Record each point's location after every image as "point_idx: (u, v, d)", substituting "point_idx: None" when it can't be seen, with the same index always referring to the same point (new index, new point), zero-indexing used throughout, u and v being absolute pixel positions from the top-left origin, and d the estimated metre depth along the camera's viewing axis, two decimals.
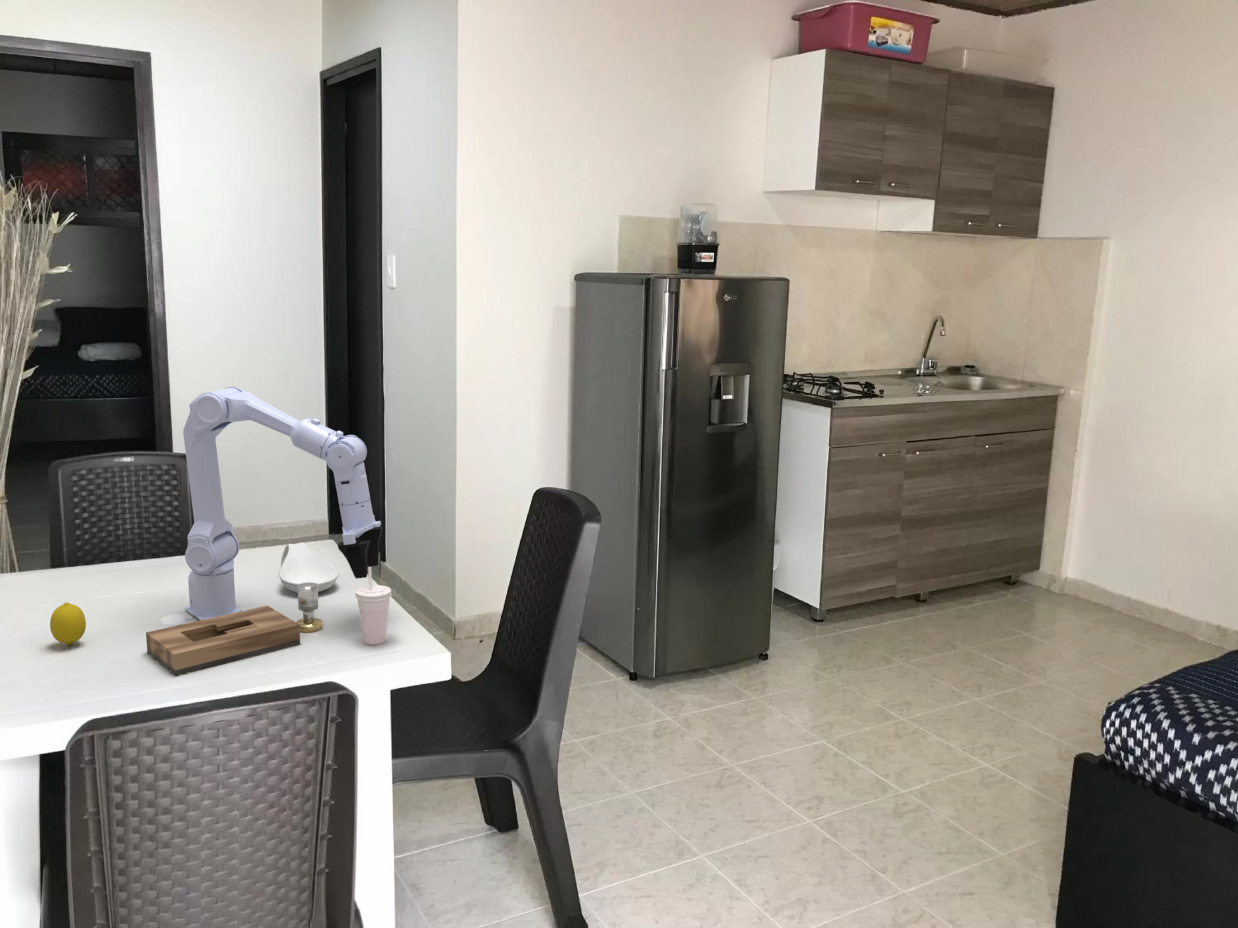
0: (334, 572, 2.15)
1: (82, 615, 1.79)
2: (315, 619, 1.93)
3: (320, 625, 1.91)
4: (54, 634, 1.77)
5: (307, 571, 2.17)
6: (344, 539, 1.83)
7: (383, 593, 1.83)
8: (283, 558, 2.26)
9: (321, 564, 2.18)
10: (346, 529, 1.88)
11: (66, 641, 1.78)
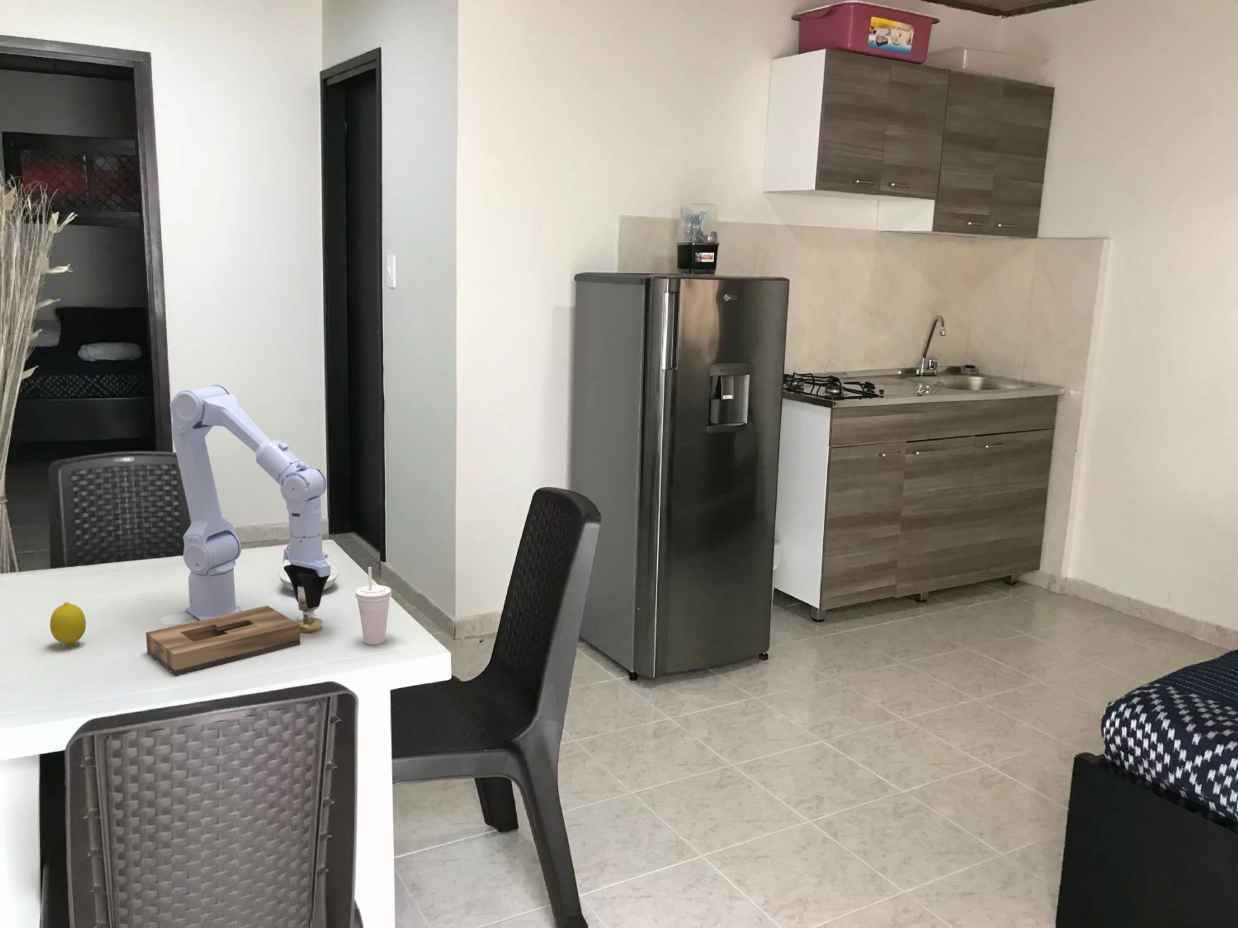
0: (334, 572, 2.15)
1: (82, 615, 1.79)
2: (315, 619, 1.93)
3: (320, 625, 1.91)
4: (54, 634, 1.77)
5: None
6: (322, 571, 1.83)
7: (383, 593, 1.83)
8: None
9: None
10: (304, 562, 1.86)
11: (66, 641, 1.78)
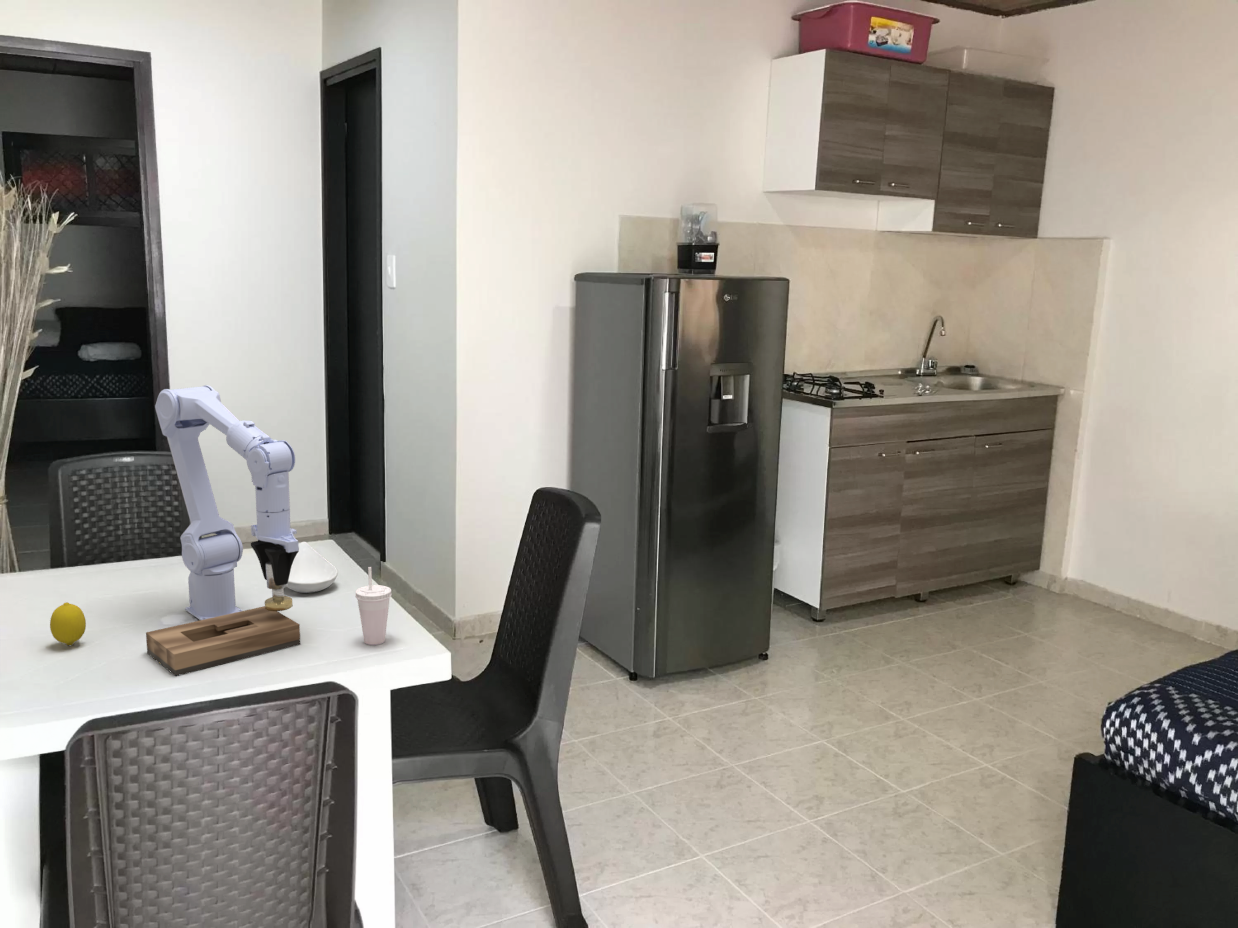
0: (334, 571, 2.15)
1: (82, 615, 1.79)
2: (285, 597, 1.88)
3: (290, 603, 1.86)
4: (54, 634, 1.77)
5: (308, 570, 2.18)
6: (289, 547, 1.78)
7: (383, 593, 1.83)
8: None
9: (322, 563, 2.18)
10: (272, 537, 1.80)
11: (66, 641, 1.78)
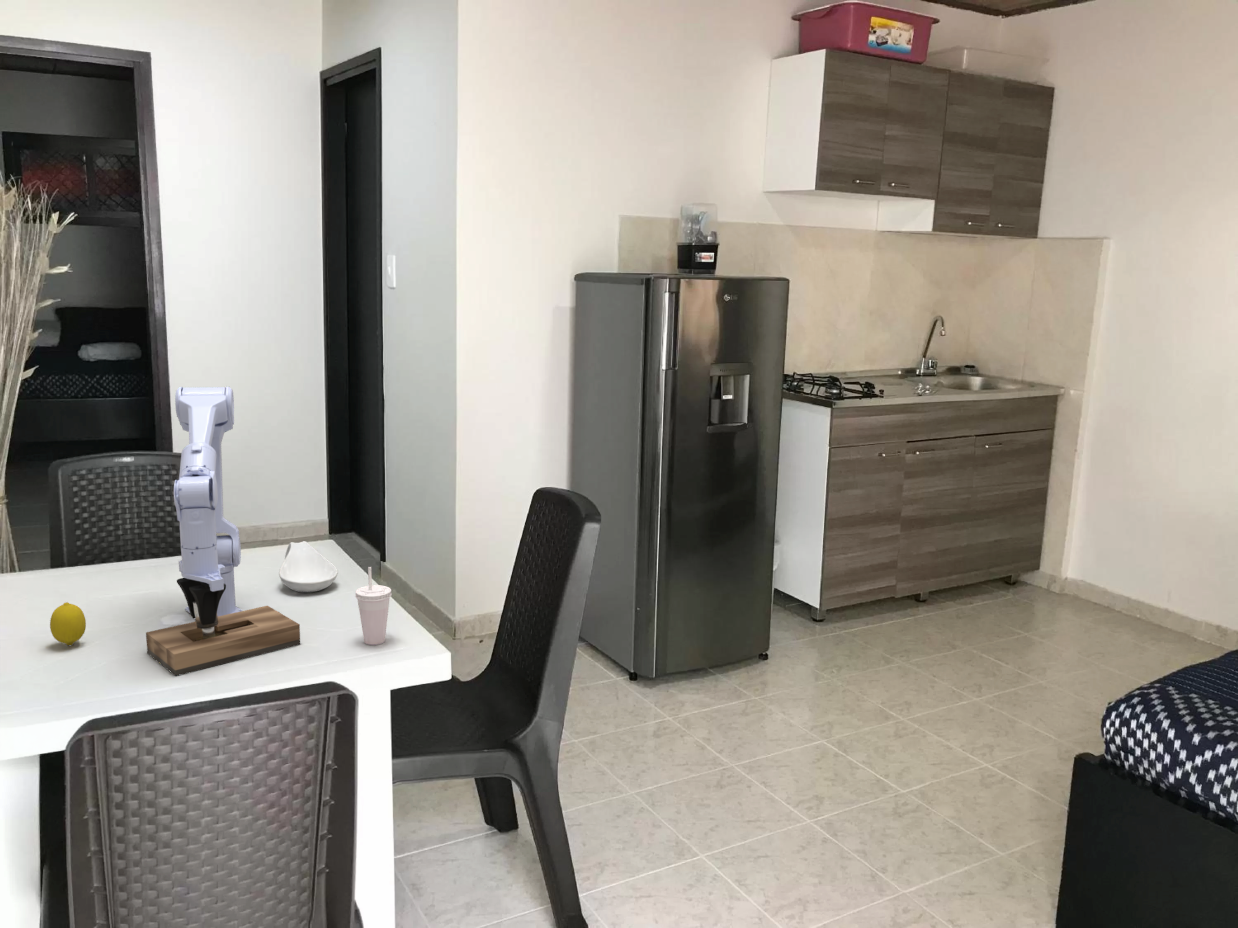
0: (334, 571, 2.15)
1: (82, 615, 1.79)
2: (217, 635, 1.80)
3: None
4: (54, 634, 1.77)
5: (308, 569, 2.18)
6: (213, 585, 1.70)
7: (383, 593, 1.83)
8: (286, 556, 2.27)
9: (322, 563, 2.18)
10: (196, 575, 1.72)
11: (66, 641, 1.78)
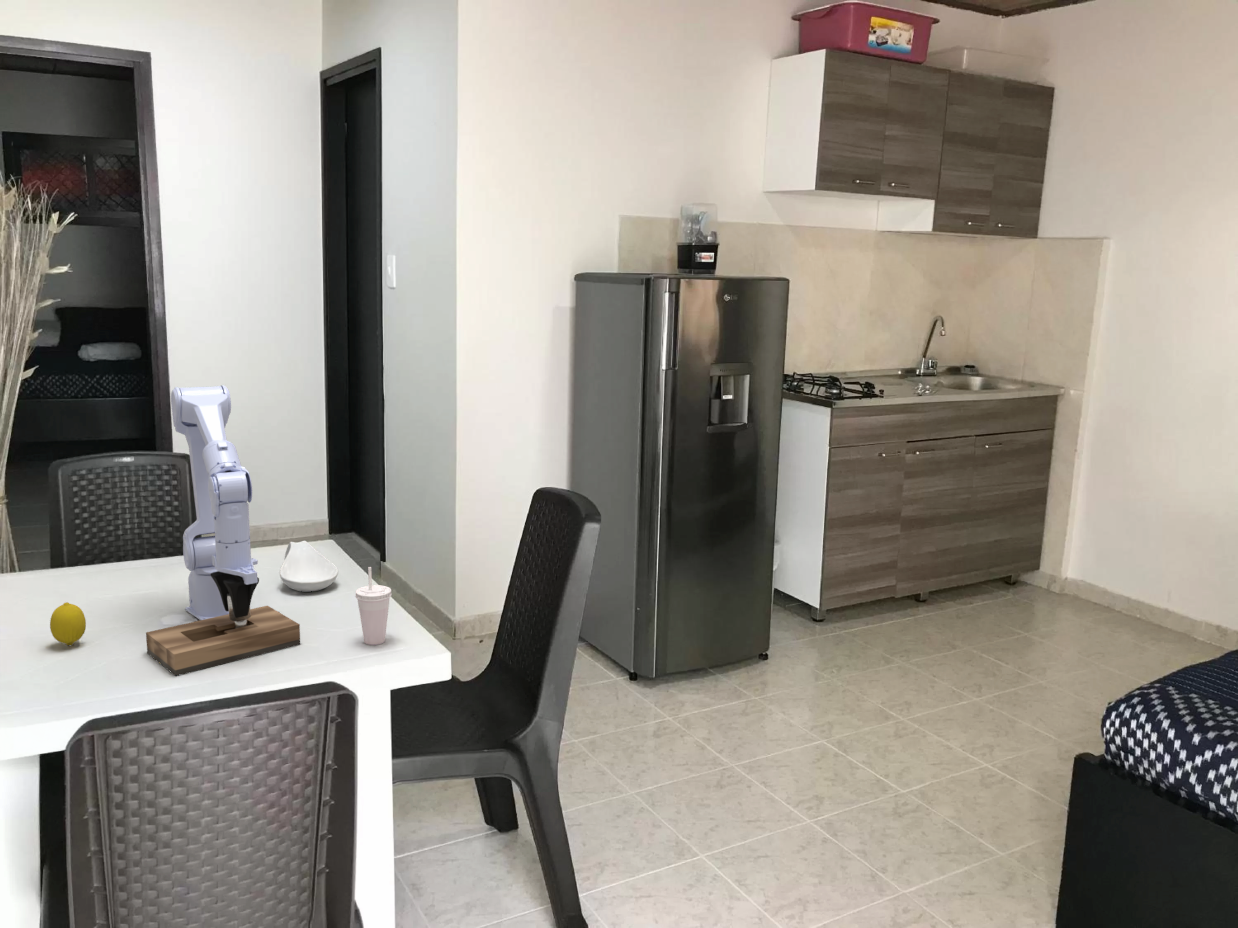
0: (334, 570, 2.16)
1: (82, 615, 1.79)
2: None
3: None
4: (54, 634, 1.77)
5: (308, 569, 2.18)
6: (247, 578, 1.74)
7: (383, 593, 1.83)
8: (286, 556, 2.28)
9: (322, 562, 2.19)
10: (231, 569, 1.76)
11: (66, 641, 1.78)
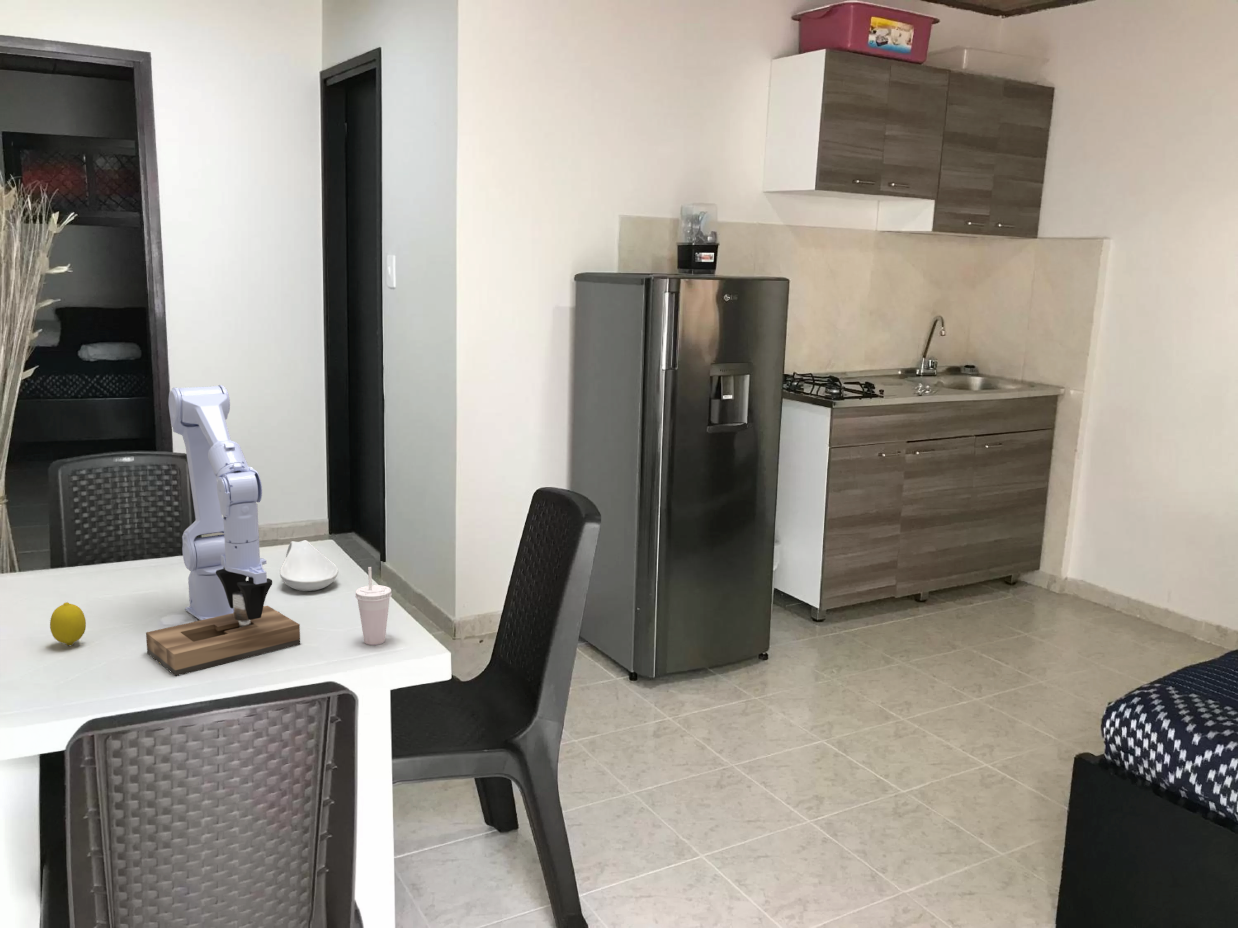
0: (334, 570, 2.16)
1: (82, 615, 1.79)
2: None
3: None
4: (54, 634, 1.77)
5: (308, 568, 2.19)
6: (257, 578, 1.75)
7: (383, 593, 1.83)
8: None
9: (322, 562, 2.19)
10: (240, 568, 1.77)
11: (66, 641, 1.78)
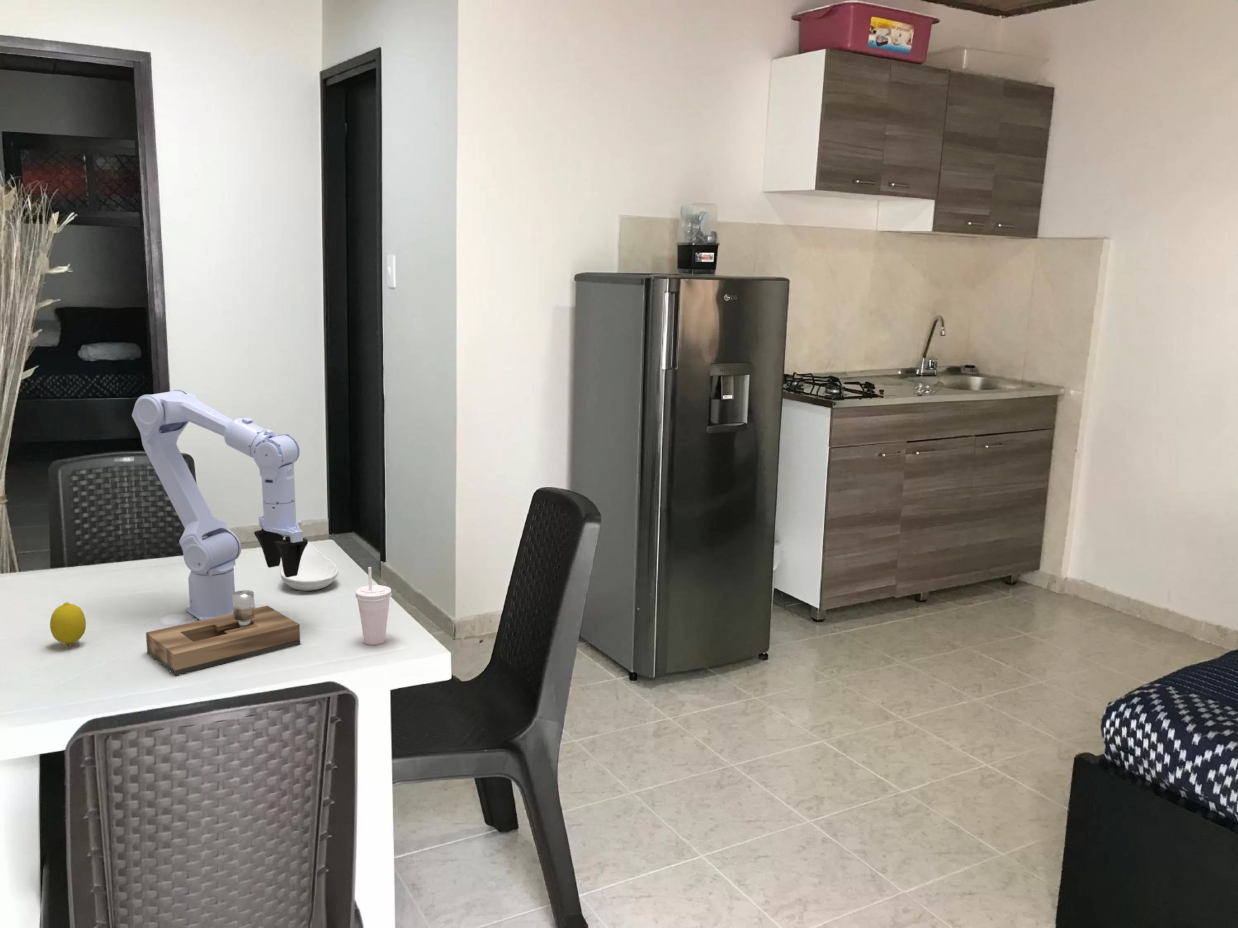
0: (334, 569, 2.16)
1: (82, 615, 1.79)
2: None
3: None
4: (54, 634, 1.77)
5: (309, 568, 2.19)
6: (293, 537, 1.84)
7: (383, 593, 1.83)
8: None
9: (322, 561, 2.19)
10: (277, 528, 1.86)
11: (66, 641, 1.78)
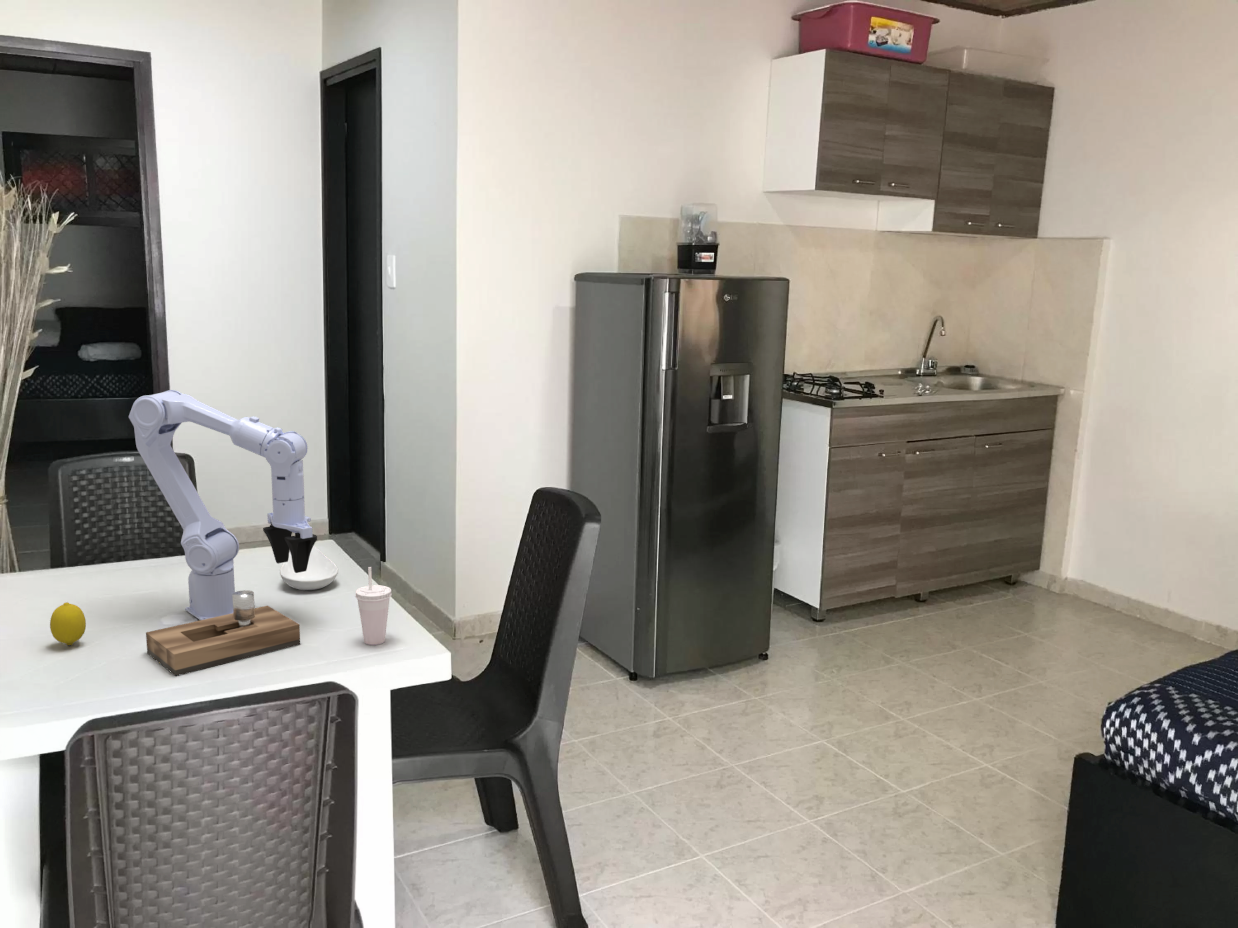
0: (334, 569, 2.16)
1: (82, 615, 1.79)
2: None
3: None
4: (54, 634, 1.77)
5: (309, 568, 2.19)
6: (304, 533, 1.87)
7: (383, 593, 1.83)
8: None
9: (323, 561, 2.20)
10: (287, 524, 1.89)
11: (66, 641, 1.78)
